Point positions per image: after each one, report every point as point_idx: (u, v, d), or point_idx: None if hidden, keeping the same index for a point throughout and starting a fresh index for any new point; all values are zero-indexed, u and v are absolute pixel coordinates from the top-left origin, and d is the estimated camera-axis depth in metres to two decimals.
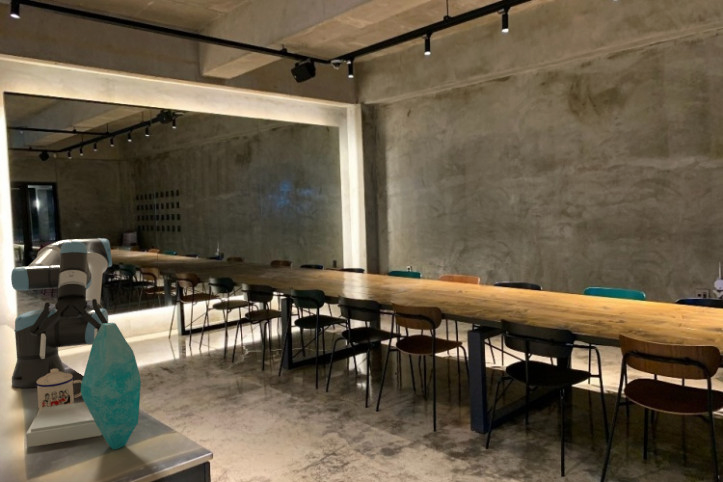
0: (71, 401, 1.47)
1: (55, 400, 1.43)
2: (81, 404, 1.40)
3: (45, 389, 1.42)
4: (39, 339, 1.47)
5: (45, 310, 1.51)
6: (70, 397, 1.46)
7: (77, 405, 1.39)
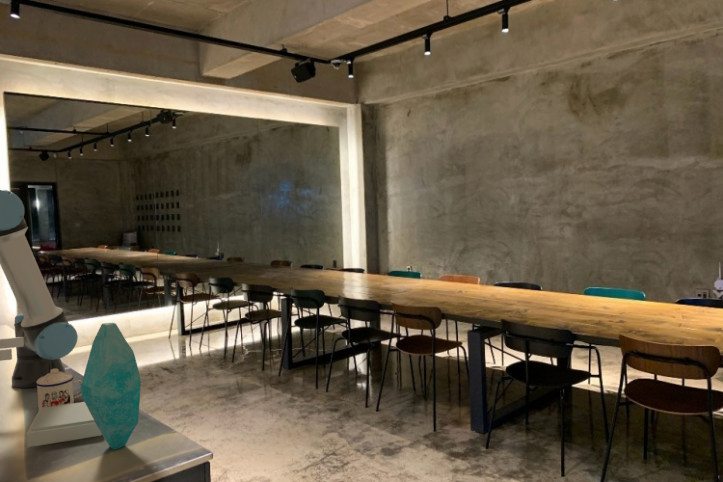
0: (71, 401, 1.47)
1: (55, 400, 1.43)
2: (81, 404, 1.40)
3: (45, 389, 1.42)
4: None
5: None
6: (70, 397, 1.46)
7: (77, 405, 1.39)
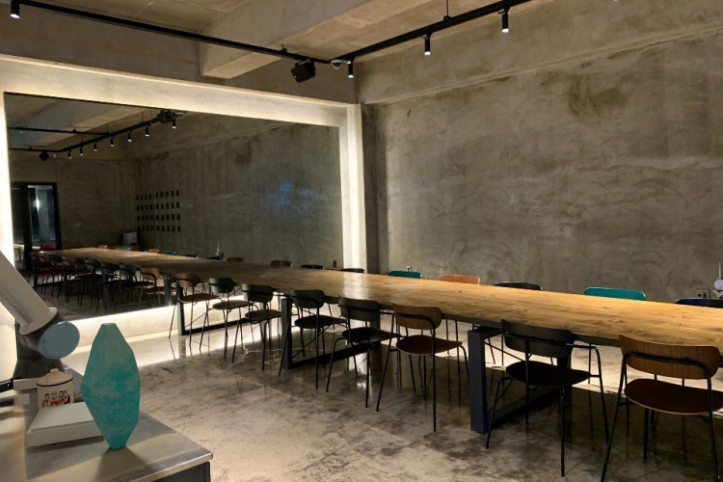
0: (71, 401, 1.47)
1: (55, 400, 1.43)
2: (81, 404, 1.40)
3: (45, 389, 1.42)
4: None
5: None
6: (70, 397, 1.46)
7: (77, 405, 1.39)
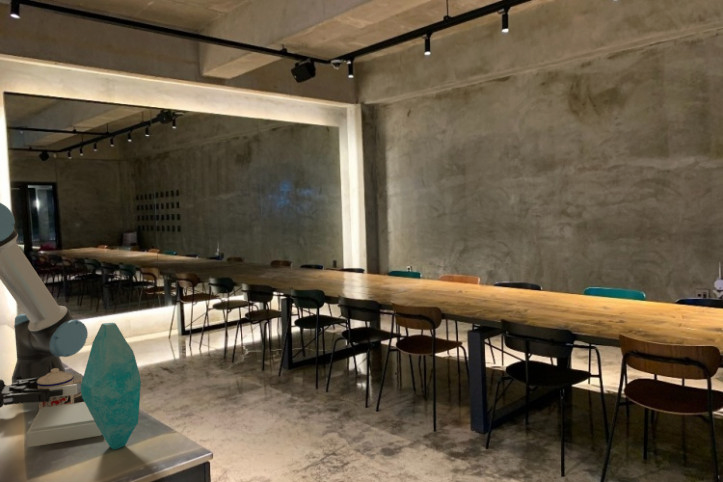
0: (71, 401, 1.47)
1: (55, 400, 1.43)
2: (81, 404, 1.40)
3: None
4: None
5: None
6: (70, 397, 1.46)
7: (77, 405, 1.39)
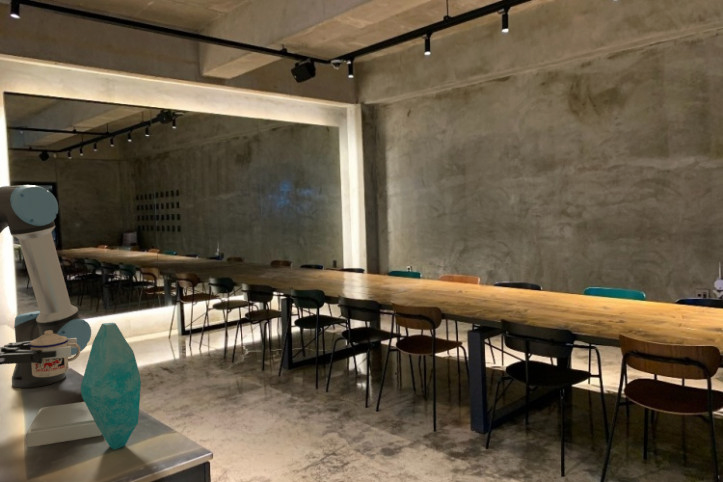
0: (65, 364, 1.42)
1: (48, 362, 1.38)
2: (81, 404, 1.40)
3: None
4: None
5: None
6: (64, 360, 1.42)
7: (77, 405, 1.39)
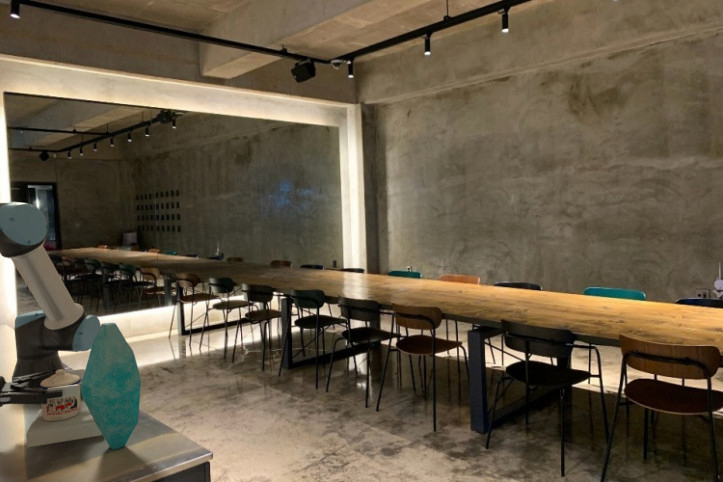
0: (78, 406, 1.33)
1: (60, 404, 1.29)
2: (81, 404, 1.40)
3: None
4: None
5: None
6: (77, 401, 1.32)
7: None
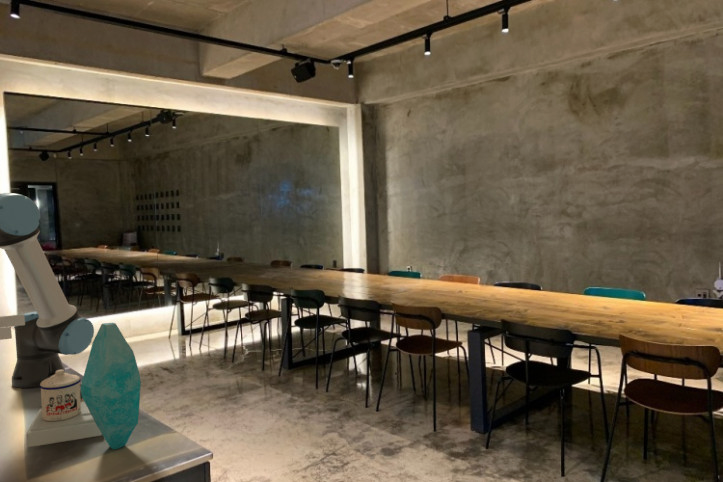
0: (78, 406, 1.33)
1: (60, 404, 1.29)
2: (81, 404, 1.40)
3: (50, 393, 1.28)
4: None
5: None
6: (77, 401, 1.32)
7: None
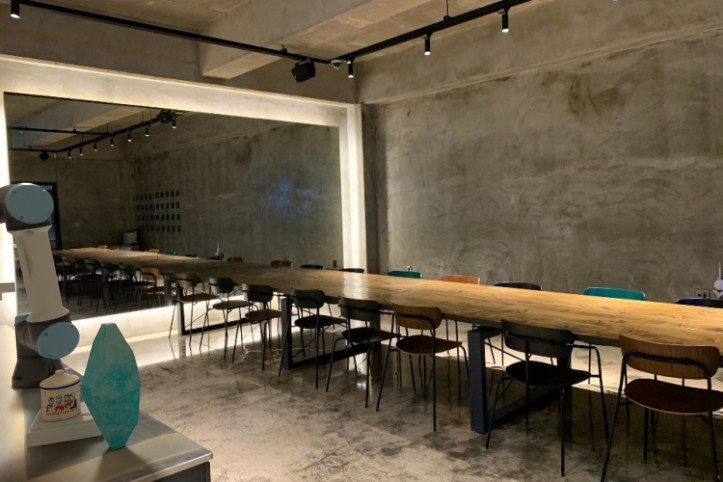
0: (78, 406, 1.33)
1: (60, 405, 1.29)
2: (81, 404, 1.40)
3: (49, 393, 1.28)
4: None
5: None
6: (77, 401, 1.32)
7: None
